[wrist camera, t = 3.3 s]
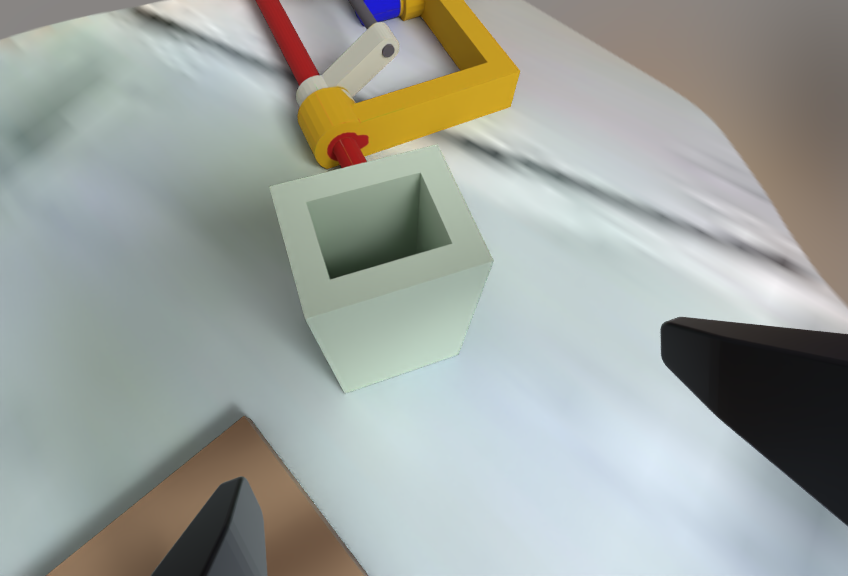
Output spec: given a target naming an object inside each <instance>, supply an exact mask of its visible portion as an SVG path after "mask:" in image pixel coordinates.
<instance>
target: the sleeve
mask: <svg viewBox="0 0 848 576" xmlns="http://www.w3.org/2000/svg"><path fill="white" fill-rule="evenodd" d="M269 188H270V191H271V195H272V199H273V203H274V206H275V210H276V214H277V217H278V221H279V225H280V229H281V232H282V236H283V240H284V243H285V247H286V251H287V254H288V258H289V262H290V266H291V269H292V273H293V277H294V280H295V284H296V288H297V292H298V295H299V299H300V303H301V306H302V310H303V314H304V317H305V320H306V322H307V324H308V326H309V328H310V329H311V331H312V333H313V335H314V337H315V339H316V341H317V343H318V344H319V346H320V348H321V350H322V352H323V354H324V356H325V358H326V359H327V361H328V363H329V365H330V367H331V369H332V371H333V373H334V374H335V376H336V378H337V380H338V382H339V384H340V386H341V388H342V389H343V391H344V393H345V394H346V393H349V392H352V391H354V390H357V389H360V388H363V387H366V386H369V385H372V384H375V383H378V382H381V381H384V380H386V379H389V378H392V377H395V376H398V375H401V374H404V373H407V372H410V371H413V370H416V369H419V368H421V367H424V366H427V365H430V364H433V363H436V362H439V361H442V360H445V359H448V358H451V357H453V356H456V355H458V354H459V352H460V349H461V346H462V344H463V341H464V338H465V336H466V333H467V331H468V328H469V325H470V323H471V320H472V317H473V315H474V312H475V309H476V307H477V304H478V301H479V299H480V296H481V293H482V291H483V288H484V285H485V283H486V280H487V277H488V275H489V272H490V270H491V267H492V264H493V262H494V260H493V258H492V256H491V254H490V252H489V250H488V248H487V246H486V244H485V242H484V240H483V238H482V236H481V233H480V231H479V229H478V227H477V225H476V223H475V221H474V219H473V217H472V215H471V213H470V211H469V209H468V206H467V204H466V202H465V200H464V198H463V196H462V194H461V192H460V190H459V188H458V186H457V184H456V182H455V179H454V177H453V175H452V173H451V171H450V169H449V167H448V165H447V163H446V161H445V159H444V157H443V155H442V152H441V150H440V148H439V146H438V144H437V145H433V146H429V147H425V148H421V149H417V150H413V151H409V152H405V153H401V154H397V155H393V156H389V157H385V158H381V159H377V160H373V161H369V162H365V163H361V164H357V165H353V166H349V167H345V168H341V169H337V170H333V171H329V172H325V173H320V174H316V175H312V176H308V177H304V178H300V179H296V180H292V181H288V182H284V183H280V184H276V185H272V186H269Z"/></svg>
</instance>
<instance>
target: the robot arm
mask: <svg viewBox="0 0 848 576" xmlns="http://www.w3.org/2000/svg"><path fill="white" fill-rule="evenodd" d="M661 357H662V360H663V362H664V364H665V365H666V366H667V367H668V368H669V369H670V370H671V371H672V372H673V373H674V374H675V375H676V376H677V377H678V378H679V379H680V380H681V381H682V382H683V383H684V384H685V385H686V386H687V387H688V388H689V389H690V390H691V391H692V392H693V393H694V394H695V395H696V396H697V397H698V398H699V399H700V400H701V401H702V402H703V403H704V404H705V405H706V406H707V407H708V408H709V409H710V410H711V411H712V412H713V413H714V414H715V415H716V416H717V417H718V418H719V419H720V420H721V421H723V422H724V423H725V424H726V425H727V426H728V427H730V428H731V429H732V430H733V431H734V432H735V433H737V434H738V435H739V436H740V437H741V438H743V439H744V440H745V441H746V442H747V443H749V444H750V445H751V446H752V447H753V448H755V449H756V450H757V451H758V452H759V453H761V454H762V455H763V456H764V457H765V458H767V459H768V460H769V461H770V462H771V463H773V464H774V465H775V466H776V467H777V468H779V469H780V470H781V471H782V472H783V473H784V474H786V475H787V476H788V477H789V478H790V479H792V480H793V481H794V482H795V483H796V484H798V485H799V486H800V487H801V488H802V489H804V490H805V491H806V492H807V493H808V494H810V495H811V496H812V497H813V498H814V499H816V500H817V501H818V502H819V503H820V504H822V505H823V506H824V507H825V508H826V509H828V510H829V511H830V512H831V513H832V514H834V515H835V516H836V517H837V518H838V519H839V520H841V521H842V522H843V523H844V524H845V525H847V526H848V334H841V333H831V332H821V331H812V330H802V329H793V328H783V327H774V326H764V325H755V324H745V323H736V322H726V321H717V320H707V319H697V318H688V317H677V318H675V319H672V320H669V321H666V322H664V323H663V324H662V326H661ZM150 576H267V562H266V547H265V533H264V520H263V514H262V511H261V508H260V505H259V503H258V501H257V499H256V497H255V495H254V493H253V491H252V488H251V486H250V484H249V482H248V480H247V479H246V478H245V477H243V476H240V477H237V478H234V479H232V480H229V481H226V482H224V483H222V484H220V485H219V486H218V488H217V489H216V490H215V491H214V493H213V494H212V495H211V497H210V498H209V499H208V501H207V502H206V503H205V505H204V506H203V507H202V509H201V510H200V511H199V512H198V514H197V515H196V516H195V518H194V519H193V520H192V522H191V523H190V524H189V526H188V527H187V528H186V530H185V531H184V532H183V533H182V535H181V536H180V537H179V539H178V540H177V541H176V543H175V544H174V545H173V547H172V548H171V549H170V551H169V552H168V553H167V554H166V556H165V557H164V558H163V560H162V561H161V562H160V564H159V565H158V566H157V568H156V569H155V570H154V572H153V573H152V574H151V575H150Z"/></svg>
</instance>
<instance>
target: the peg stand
mask: <svg viewBox="0 0 848 576" xmlns="http://www.w3.org/2000/svg"><path fill="white" fill-rule="evenodd" d="M240 476H243V477H245V478H246V479H247V480H248V482H249V484H250V486H251V488H252V491H253V493H254V495H255V497H256V499H257V501H258V503H259V505H260V508H261V511H262V514H263V520H264V533H265V547H266V562H267V576H368V574H367V573H366V572H365V570H364V569H363V568H362V566H361V565H360V564H359V563H358V561H357V560H356V559H355V557H354V556H353V555H352V553H351V552H350V551H349V549H348V548H347V547H346V545H345V544H344V543H343V541H342V540H341V539H340V537H339V536H338V535H337V533H336V532H335V531H334V529H333V528H332V527H331V525H330V524H329V523H328V521H327V520H326V519H325V517H324V516H323V515H322V513H321V512H320V511H319V509H318V508H317V507H316V505H315V504H314V503H313V501H312V500H311V499H310V497H309V496H308V495H307V493H306V492H305V491H304V489H303V488H302V487H301V485H300V484H299V483H298V482H297V480H296V479H295V478H294V476H293V475H292V474H291V472H290V471H289V470H288V468H287V467H286V466H285V464H284V463H283V462H282V460H281V459H280V458H279V456H278V455H277V454H276V452H275V451H274V450H273V448H272V447H271V446H270V444H269V443H268V442H267V440H266V439H265V438H264V436H263V435H262V434H261V432H260V431H259V430H258V428H257V427H256V426H255V424H254V423H253V422H252V420H251V419H249V418H247V417H245V416H243V417H242V418H241V419H239V420H238V421H237V422H236V423H234V424H233V425H232V426H231V427H229V428H228V429H227V430H226V431H225V432H223V433H222V434H221V435H220V436H218V437H217V438H216V439H215V440H213V441H212V442H211V443H210V444H208V445H207V446H206V447H205V448H203V449H202V450H201V451H200V452H198V453H197V454H196V455H195V456H194V457H192V458H191V459H190V460H189V461H187V462H186V463H185V464H184V465H182V466H181V467H180V468H179V469H177V470H176V471H175V472H174V473H172V474H171V475H170V476H169V477H167V478H166V479H165V480H164V481H163V482H161V483H160V484H159V485H158V486H156V487H155V488H154V489H153V490H151V491H150V492H149V493H148V494H146V495H145V496H144V497H143V498H141V499H140V500H139V501H138V502H136V503H135V504H134V505H133V506H132V507H130V508H129V509H128V510H127V511H125V512H124V513H123V514H122V515H120V516H119V517H118V518H117V519H115V520H114V521H113V522H112V523H110V524H109V525H108V526H107V527H105V528H104V529H103V530H102V531H101V532H99V533H98V534H97V535H96V536H94V537H93V538H92V539H91V540H89V541H88V542H87V543H86V544H84V545H83V546H82V547H81V548H79V549H78V550H77V551H76V552H74V553H73V554H72V555H71V556H70V557H68V558H67V559H66V560H65V561H63V562H62V563H61V564H60V565H58V566H57V567H56V568H55V569H53V570H52V571H51V572H50V573H48V574H47V575H46V576H150V575H151V574H152V573H153V572H154V570H155V569H156V568H157V566H158V565H159V564H160V562H161V561H162V560H163V558H164V557H165V556H166V554H167V553H168V552H169V551H170V549H171V548H172V547H173V545H174V544H175V543H176V541H177V540H178V539H179V537H180V536H181V535H182V533H183V532H184V531H185V530H186V528H187V527H188V526H189V524H190V523H191V522H192V520H193V519H194V518H195V516H196V515H197V514H198V512H199V511H200V510H201V509H202V507H203V506H204V505H205V503H206V502H207V501H208V499H209V498H210V497H211V495H212V494H213V493H214V491H215V490H216V489H217V488H218V486H219V485H220V484H222V483H224V482H226V481H229V480H232V479H234V478H237V477H240Z"/></svg>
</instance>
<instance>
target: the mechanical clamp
mask: <svg viewBox="0 0 848 576" xmlns="http://www.w3.org/2000/svg"><path fill="white" fill-rule="evenodd" d="M348 1H349V2H350V4H351V5H352V7H353V8H354V10H355V13H356V15H357V17H358V18H359V20H360V22H361V23H362V25H363V26H365V27H366V29H367V30H366V31H365V32H364V33H363V34H362V35H361V36H360V37H359V38H358V39H357V40H356V41H355V42H354V43H353V44H352V45H351V46H350V47H349V48H348V49H347V50H346V51H345V52H344V53H343V54H342V55H341V56H340V57H339V58H338V59H337V60H336V61H335V62H334V63H333V64H332V65H331V66H330V67H329V68H328V69H327V70H326V71H325V72H324V73H323V74H322V75H319V73H318V71H317V69H316V67H315V65H314V64H313V62H312V60H311V58H310V56H309V54H308V53H307V51H306V49H305V47H304V45H303V43H302V42H301V40H300V38H299V36H298V34H297V32H296V31H295V29H294V27H293V25H292V23H291V21H290V20H289V18H288V16H287V14H286V12H285V10H284V9H283V7H282V5H281V3H280V1H279V0H256V2H257V4H258V6H259V8H260V10H261V12H262V14H263V16H264V18H265V20H266V22H267V24H268V26H269V28H270V29H271V31H272V33H273V35H274V37H275V39H276V41H277V43H278V45H279V47H280V49H281V51H282V53H283V55H284V57H285V59H286V61H287V63H288V65H289V67H290V68H291V70H292V72H293V74H294V76H295V78H296V80H297V82H298V84H299V87H298V90H297V92H296V100H297V103H298V105H299V107H300V108H299V111H298V116H297V117H298V123H299V125H300V127H301V130H302V132H303V134H304V136H305V138H306V140H307V142H308V144H309V146H310V148H311V150H312V152H313V154H314V156H315V158H316V160H317V162H318V163H319V164H320V165H321V166H322V167H324V168H326V169H329V168H332V167H335V166H338V165H340V166H341V168H345V167H349V166H353V165H357V164H361V163H365V162H367V161H366V159H365V157H364V156H367V155H370V154H373V153H376V152H379V151H382V150H385V149H388V148H391V147H394V146H397V145H400V144H403V143H406V142H409V141H412V140H414V139H417V138H420V137H423V136H426V135H429V134H432V133H435V132H438V131H441V130H444V129H447V128H450V127H453V126H456V125H459V124H462V123H464V122H467V121H470V120H473V119H476V118H479V117H482V116H485V115H488V114H491V113H494V112H497V111H500V110H503V109H506V108H509V107H511V103H512V100H513V96H514V92H515V89H516V85H517V81H518V77H519V74H520V70H519V69H518V68H517V66H516V65H515V64H514V63H513V61H512V60H511V59H510V58H509V56H508V55H507V54H506V53H505V51H504V50H503V49H502V48H501V46H500V45H499V44H498V43H497V42H496V40H495V39H494V38H493V37H492V35H491V34H490V33H489V32H488V30H487V29H486V28H485V27H484V25H483V24H482V23H481V22H480V20H479V19H478V18H477V17H476V15H475V14H474V13H473V12H472V10H471V9H470V8H469V7H468V5H467V4H466V3H465V2H464V0H348ZM399 16H400V17H401V19H402V20H403V21H405V20H408V19H412V18H416V17H419V16H421V17H422V18H423V20H424V21H425V22H426V24H427V25H428V27H429V28H430V29H431V31H432V32H433V33H434V35H435V36H436V38H437V39H438V40H439V42H440V43H441V44H442V46H443V47H444V49H445V50H446V51H447V53H448V54H449V55H450V57H451V58H452V60H453V61H454V62H455V64H456V65H457V66H458V68H459V69H460V71H458V72H455V73H452V74H449V75H446V76H442V77H439V78H436V79H433V80H429V81H426V82H423V83H420V84H417V85H413V86H410V87H407V88H404V89H401V90H397V91H394V92H391V93H388V94H385V95H381V96H378V97H375V98H372V99H368V100H365V101H362V102H359V103H355V101H354V99H353V98H352V97H353V96H354V95H355V94H356V93H357V92H359V91H360V90H361V89H362V88H363V87H364V86H365V85H366V84H367V83H368V82H369V81H370V80H371V79H372V78H373V77H374V76H375V75H376V74H378V73H379V72H380V71H381V70H382V69H383V68H384V67H385V66H386V65H387V64H388V63H389V62H390V61H391V60H392V59H393V58H394V57H395V56H396V55H397V54H398V51H399V42H398V41H397V39H396V38H395V36H394V35H393V33H392V32H391V30H390V29H389V27H388V26H387V25H386V24H385V23H383V22H380V21H384V20H388V19H391V18H395V17H399Z"/></svg>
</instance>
